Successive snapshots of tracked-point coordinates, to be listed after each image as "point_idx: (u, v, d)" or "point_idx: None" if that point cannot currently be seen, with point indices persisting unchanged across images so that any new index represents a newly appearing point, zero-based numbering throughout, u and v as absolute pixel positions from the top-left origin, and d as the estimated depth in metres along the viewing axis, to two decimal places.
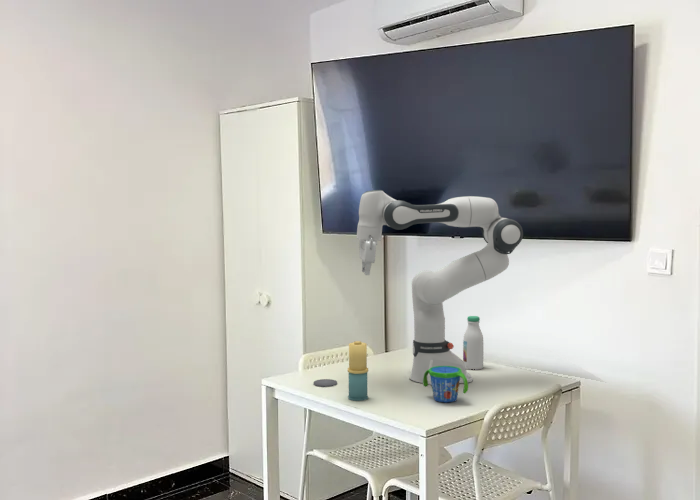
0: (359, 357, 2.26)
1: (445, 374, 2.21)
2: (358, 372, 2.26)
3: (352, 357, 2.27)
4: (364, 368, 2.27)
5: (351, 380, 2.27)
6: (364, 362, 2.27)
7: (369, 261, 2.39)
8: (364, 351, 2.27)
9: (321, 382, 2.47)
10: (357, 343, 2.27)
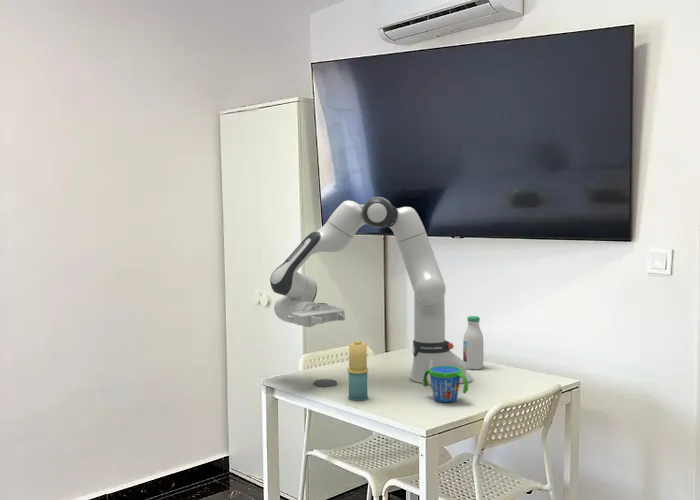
0: (359, 357, 2.26)
1: (445, 374, 2.21)
2: (358, 372, 2.26)
3: (352, 357, 2.27)
4: (364, 368, 2.27)
5: (351, 380, 2.27)
6: (364, 362, 2.27)
7: (301, 320, 2.34)
8: (364, 351, 2.27)
9: (321, 382, 2.47)
10: (357, 343, 2.27)
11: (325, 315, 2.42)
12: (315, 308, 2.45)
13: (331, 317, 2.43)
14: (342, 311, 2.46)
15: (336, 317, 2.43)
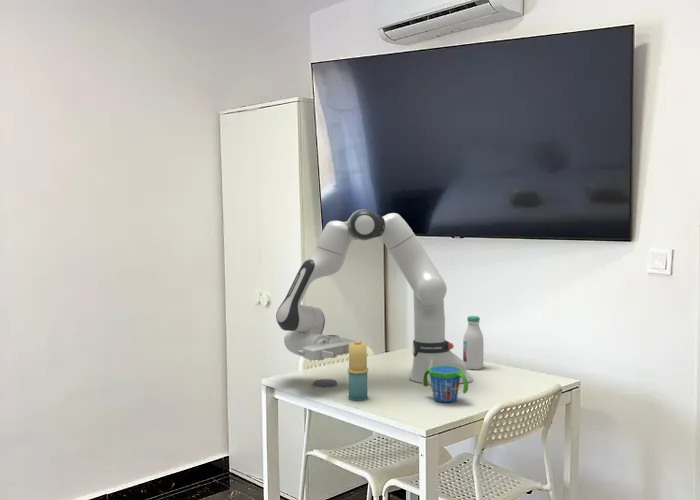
0: (359, 357, 2.26)
1: (445, 374, 2.21)
2: (358, 372, 2.26)
3: (352, 357, 2.27)
4: (364, 368, 2.27)
5: (351, 380, 2.27)
6: (364, 362, 2.27)
7: (312, 355, 2.31)
8: (364, 351, 2.27)
9: (321, 382, 2.47)
10: (357, 343, 2.27)
11: (336, 348, 2.38)
12: (326, 341, 2.42)
13: (342, 350, 2.40)
14: None
15: (347, 350, 2.40)
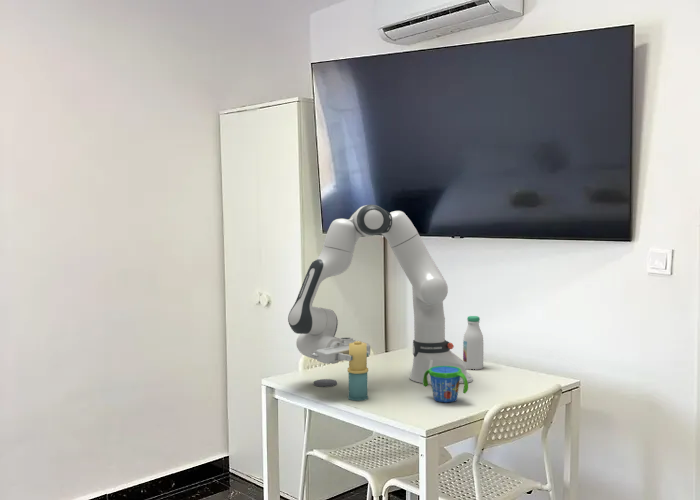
0: (359, 357, 2.26)
1: (445, 374, 2.21)
2: (358, 372, 2.26)
3: None
4: (364, 368, 2.27)
5: (351, 380, 2.27)
6: (364, 362, 2.27)
7: (326, 358, 2.25)
8: (364, 351, 2.27)
9: (321, 382, 2.47)
10: (357, 343, 2.27)
11: None
12: (340, 344, 2.36)
13: None
14: (368, 346, 2.37)
15: None
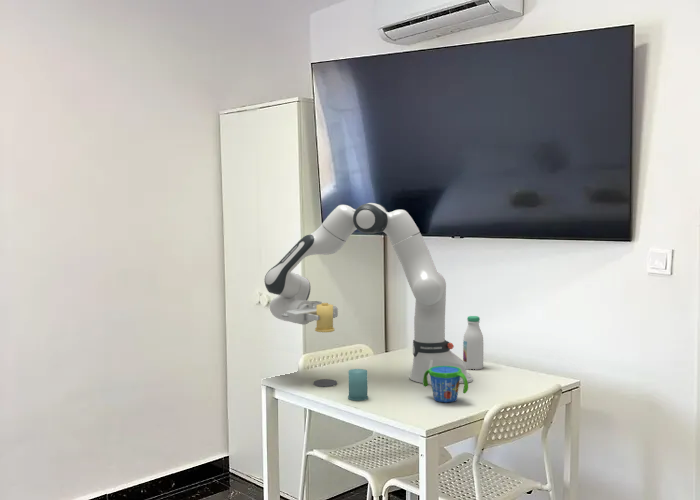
0: (326, 317, 2.43)
1: (445, 374, 2.21)
2: (324, 331, 2.43)
3: None
4: (330, 327, 2.44)
5: (351, 380, 2.27)
6: (330, 322, 2.44)
7: (295, 318, 2.43)
8: (330, 312, 2.44)
9: (321, 382, 2.47)
10: (324, 304, 2.45)
11: None
12: (309, 306, 2.53)
13: None
14: (335, 309, 2.54)
15: None
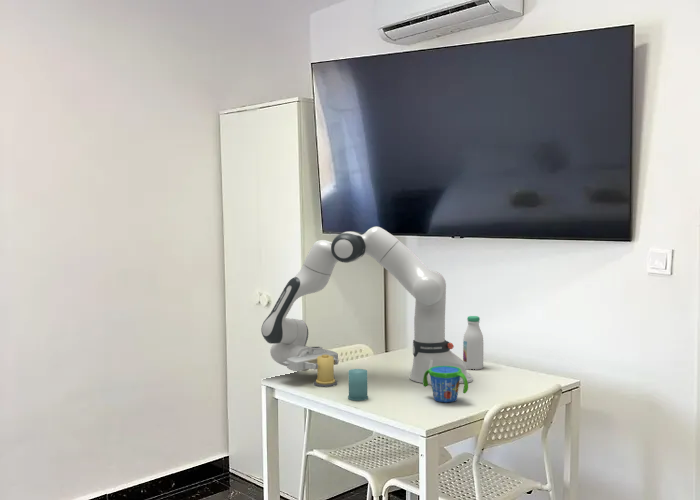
0: (327, 369, 2.45)
1: (445, 374, 2.21)
2: (325, 383, 2.45)
3: (319, 369, 2.45)
4: (331, 379, 2.46)
5: (351, 380, 2.27)
6: (331, 374, 2.46)
7: (295, 366, 2.44)
8: (331, 364, 2.46)
9: None
10: (325, 356, 2.46)
11: None
12: (309, 353, 2.55)
13: None
14: (336, 355, 2.56)
15: None
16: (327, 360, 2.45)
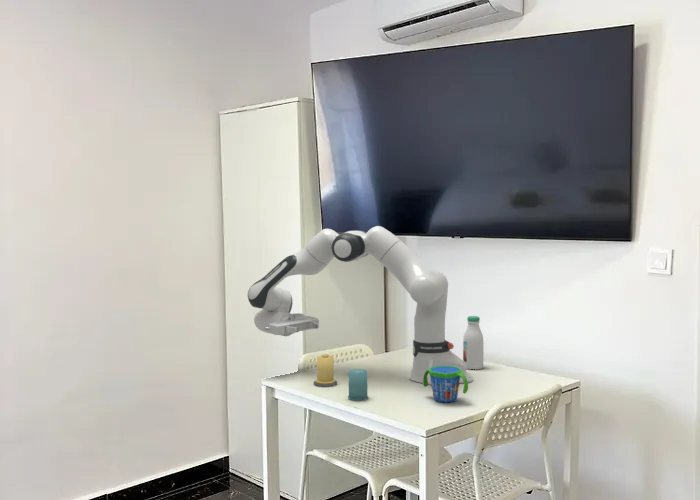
0: (327, 369, 2.45)
1: (445, 374, 2.21)
2: (325, 383, 2.45)
3: (319, 369, 2.45)
4: (331, 379, 2.46)
5: (351, 380, 2.27)
6: (331, 374, 2.46)
7: (277, 330, 2.54)
8: (331, 364, 2.46)
9: None
10: (324, 356, 2.46)
11: (300, 324, 2.61)
12: (291, 318, 2.65)
13: (306, 326, 2.63)
14: (316, 320, 2.66)
15: (311, 326, 2.63)
16: (327, 360, 2.45)
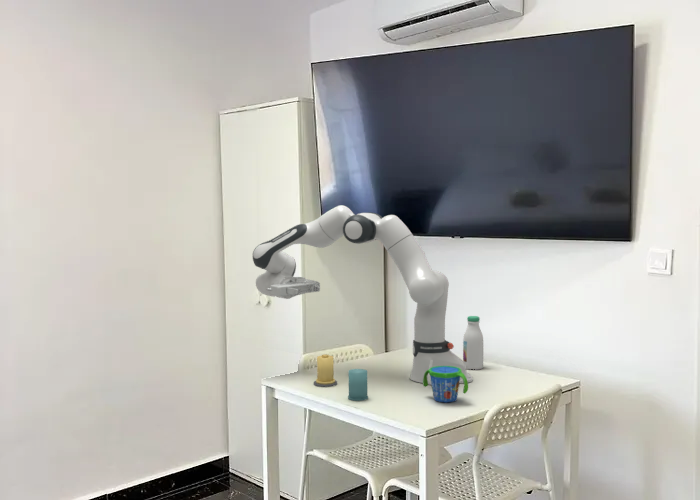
0: (327, 369, 2.45)
1: (445, 374, 2.21)
2: (325, 383, 2.45)
3: (319, 369, 2.45)
4: (331, 379, 2.46)
5: (351, 380, 2.27)
6: (331, 374, 2.46)
7: (278, 291, 2.55)
8: (331, 364, 2.46)
9: None
10: (324, 356, 2.46)
11: (301, 287, 2.62)
12: (292, 281, 2.66)
13: (307, 289, 2.64)
14: (317, 283, 2.67)
15: (312, 289, 2.64)
16: (327, 360, 2.45)
